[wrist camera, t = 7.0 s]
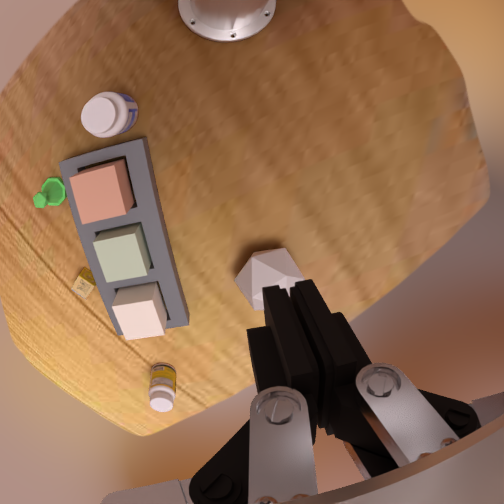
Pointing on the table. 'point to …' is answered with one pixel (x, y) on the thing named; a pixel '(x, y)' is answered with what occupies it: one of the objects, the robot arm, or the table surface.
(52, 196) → the game piece
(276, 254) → the die
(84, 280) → the alphabet block
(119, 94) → the pill bottle
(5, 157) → the table surface
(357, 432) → the robot arm
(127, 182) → the terracotta block
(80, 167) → the board
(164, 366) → the supplement bottle
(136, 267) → the green block
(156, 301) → the cream block
